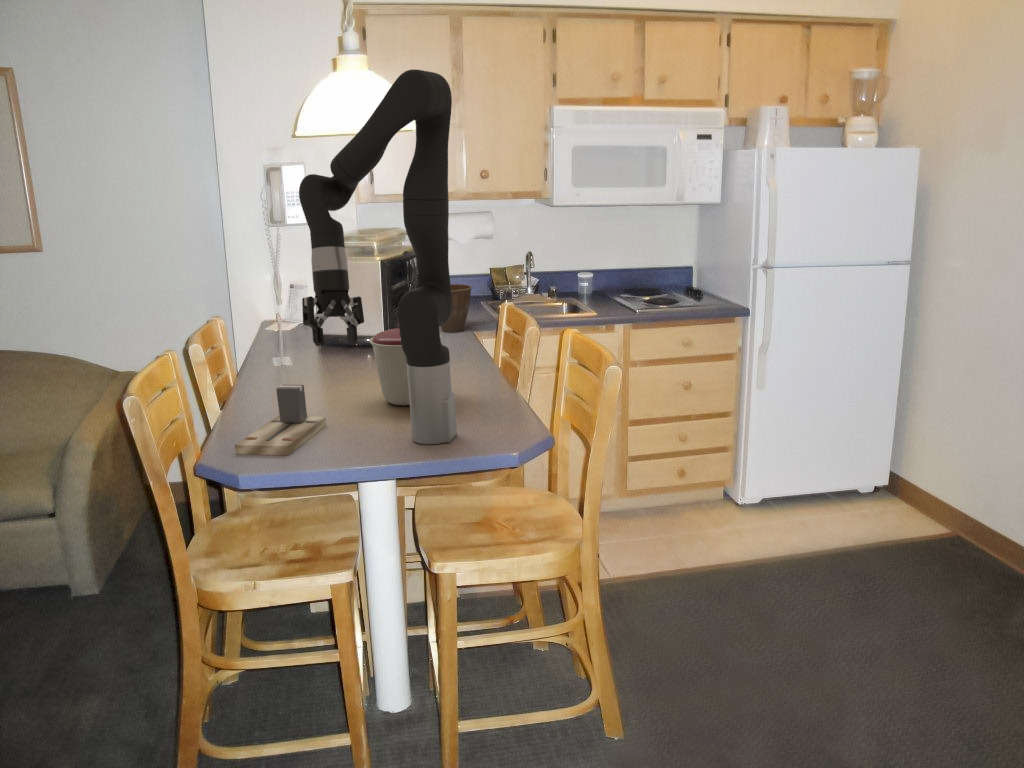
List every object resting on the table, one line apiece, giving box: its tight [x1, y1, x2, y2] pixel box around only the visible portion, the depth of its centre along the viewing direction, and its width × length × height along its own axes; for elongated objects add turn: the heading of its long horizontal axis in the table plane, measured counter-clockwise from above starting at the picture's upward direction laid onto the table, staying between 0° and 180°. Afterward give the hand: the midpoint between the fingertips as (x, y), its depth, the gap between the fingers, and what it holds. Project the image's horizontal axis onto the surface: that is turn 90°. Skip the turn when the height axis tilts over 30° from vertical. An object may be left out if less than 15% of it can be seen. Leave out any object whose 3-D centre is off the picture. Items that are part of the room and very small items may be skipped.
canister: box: [369, 322, 443, 407], centre depth 197 cm, size 18×18×21 cm
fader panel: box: [234, 415, 327, 456], centre depth 174 cm, size 12×20×2 cm, turn 170°
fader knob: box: [275, 384, 308, 423], centre depth 178 cm, size 5×4×8 cm
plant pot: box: [440, 283, 472, 334], centre depth 283 cm, size 15×15×16 cm
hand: (336, 344), depth 168 cm, fingers open, 8 cm apart
